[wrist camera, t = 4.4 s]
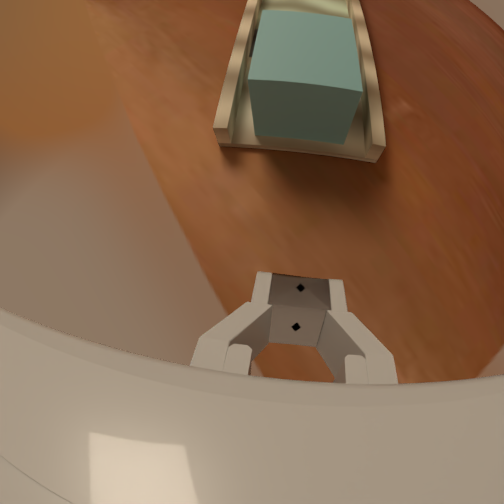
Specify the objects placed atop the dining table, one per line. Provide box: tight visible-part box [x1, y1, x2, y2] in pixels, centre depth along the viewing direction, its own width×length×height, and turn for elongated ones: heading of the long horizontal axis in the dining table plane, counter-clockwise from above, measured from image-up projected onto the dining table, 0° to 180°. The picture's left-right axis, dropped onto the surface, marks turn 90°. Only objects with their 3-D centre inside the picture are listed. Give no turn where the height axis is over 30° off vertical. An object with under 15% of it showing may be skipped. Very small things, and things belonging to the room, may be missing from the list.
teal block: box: [248, 10, 363, 145], centre depth 22 cm, size 10×8×8 cm
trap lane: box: [213, 0, 386, 163], centre depth 27 cm, size 38×14×3 cm, turn 173°
